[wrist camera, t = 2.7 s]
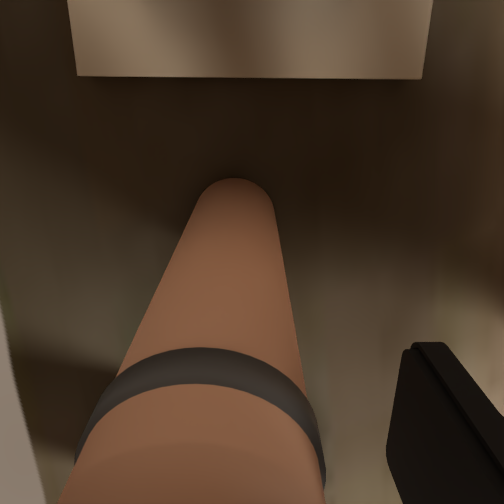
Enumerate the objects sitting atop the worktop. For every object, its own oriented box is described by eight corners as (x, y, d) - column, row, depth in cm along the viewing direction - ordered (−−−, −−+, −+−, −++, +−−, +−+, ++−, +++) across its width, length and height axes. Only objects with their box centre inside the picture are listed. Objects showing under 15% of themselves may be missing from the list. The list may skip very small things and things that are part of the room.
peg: (294, 218, 21) (398, 548, 6) (235, 272, 22) (199, 663, 7) (234, 157, 20) (181, 378, 5) (174, 217, 21) (-16, 546, 6)
